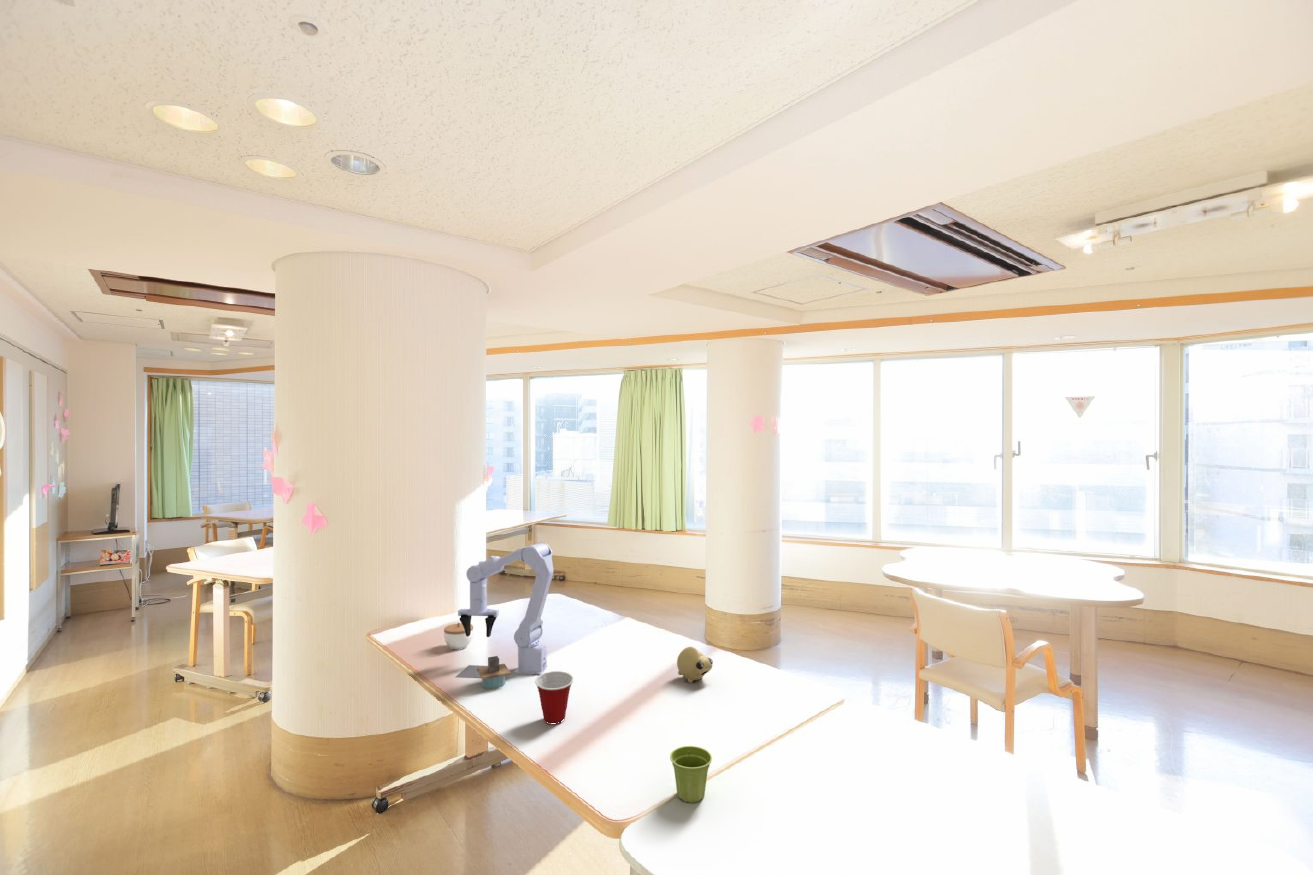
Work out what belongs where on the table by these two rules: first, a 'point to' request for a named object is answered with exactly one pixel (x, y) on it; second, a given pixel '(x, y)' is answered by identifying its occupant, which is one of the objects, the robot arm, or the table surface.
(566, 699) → the plastic cup
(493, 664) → the cover
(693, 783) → the plant pot
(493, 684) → the bowl
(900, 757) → the table surface
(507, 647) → the table surface
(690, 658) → the tan toy animal
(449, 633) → the lidded jar
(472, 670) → the mat
